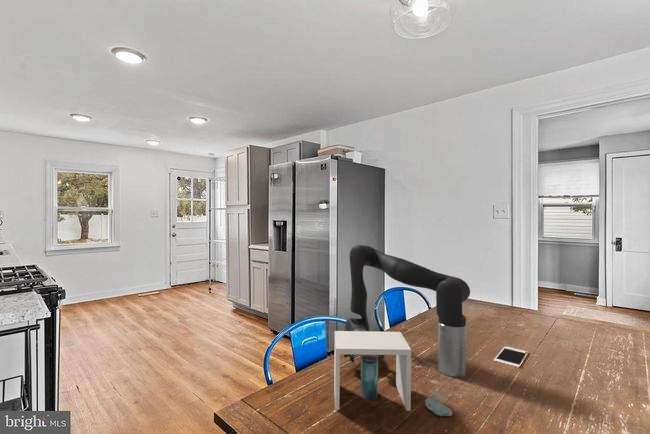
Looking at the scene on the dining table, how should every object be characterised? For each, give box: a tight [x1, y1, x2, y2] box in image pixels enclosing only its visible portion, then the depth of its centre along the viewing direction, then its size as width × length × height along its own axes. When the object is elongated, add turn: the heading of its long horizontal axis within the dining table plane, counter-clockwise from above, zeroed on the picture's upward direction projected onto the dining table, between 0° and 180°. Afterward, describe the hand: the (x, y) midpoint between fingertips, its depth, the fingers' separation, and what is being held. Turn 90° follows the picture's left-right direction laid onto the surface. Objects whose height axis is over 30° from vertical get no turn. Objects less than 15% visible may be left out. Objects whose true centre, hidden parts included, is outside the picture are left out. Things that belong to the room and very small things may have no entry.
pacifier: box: [424, 390, 453, 417], centre depth 92 cm, size 7×6×6 cm
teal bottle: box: [360, 355, 379, 401], centre depth 100 cm, size 5×5×12 cm
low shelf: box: [333, 330, 412, 412], centre depth 99 cm, size 14×22×18 cm, turn 90°
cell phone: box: [493, 346, 527, 367], centre depth 128 cm, size 9×18×1 cm, turn 138°
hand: (365, 360), depth 110 cm, fingers open, 8 cm apart
